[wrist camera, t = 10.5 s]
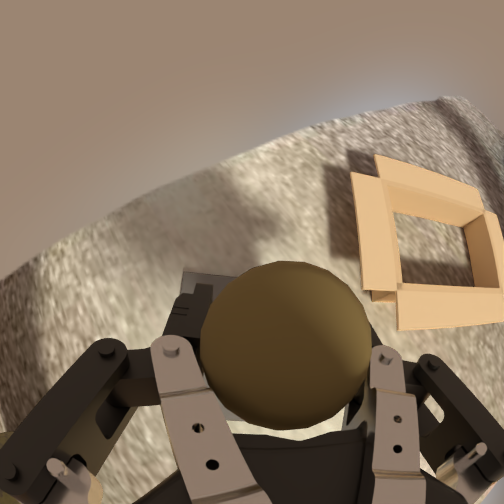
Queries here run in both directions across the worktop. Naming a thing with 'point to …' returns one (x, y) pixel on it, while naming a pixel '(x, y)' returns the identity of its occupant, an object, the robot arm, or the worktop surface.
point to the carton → (438, 209)
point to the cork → (285, 345)
